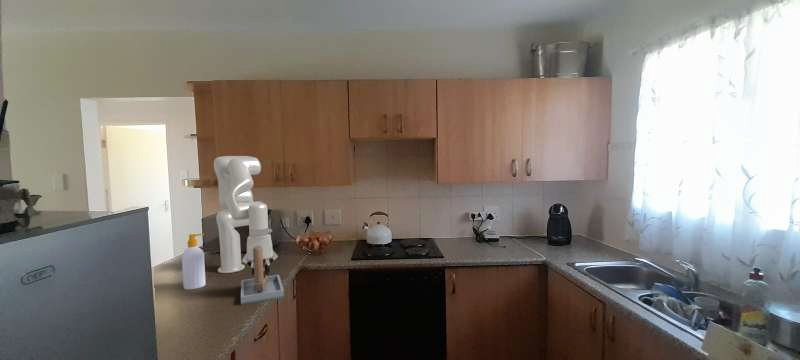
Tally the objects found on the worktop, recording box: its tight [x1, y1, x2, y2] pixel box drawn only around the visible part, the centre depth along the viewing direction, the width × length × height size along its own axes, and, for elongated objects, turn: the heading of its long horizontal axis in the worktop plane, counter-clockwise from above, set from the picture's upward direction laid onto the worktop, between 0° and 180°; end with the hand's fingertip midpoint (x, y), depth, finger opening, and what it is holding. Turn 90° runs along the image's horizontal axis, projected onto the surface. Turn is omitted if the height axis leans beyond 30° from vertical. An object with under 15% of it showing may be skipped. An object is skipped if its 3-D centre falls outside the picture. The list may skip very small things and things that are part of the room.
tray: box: [240, 274, 285, 306], centre depth 148 cm, size 22×16×3 cm
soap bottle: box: [181, 233, 206, 291], centre depth 156 cm, size 9×9×24 cm
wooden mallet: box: [253, 247, 268, 292], centre depth 147 cm, size 4×11×18 cm, turn 12°
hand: (260, 274), depth 147 cm, fingers closed on wooden mallet, 4 cm apart
